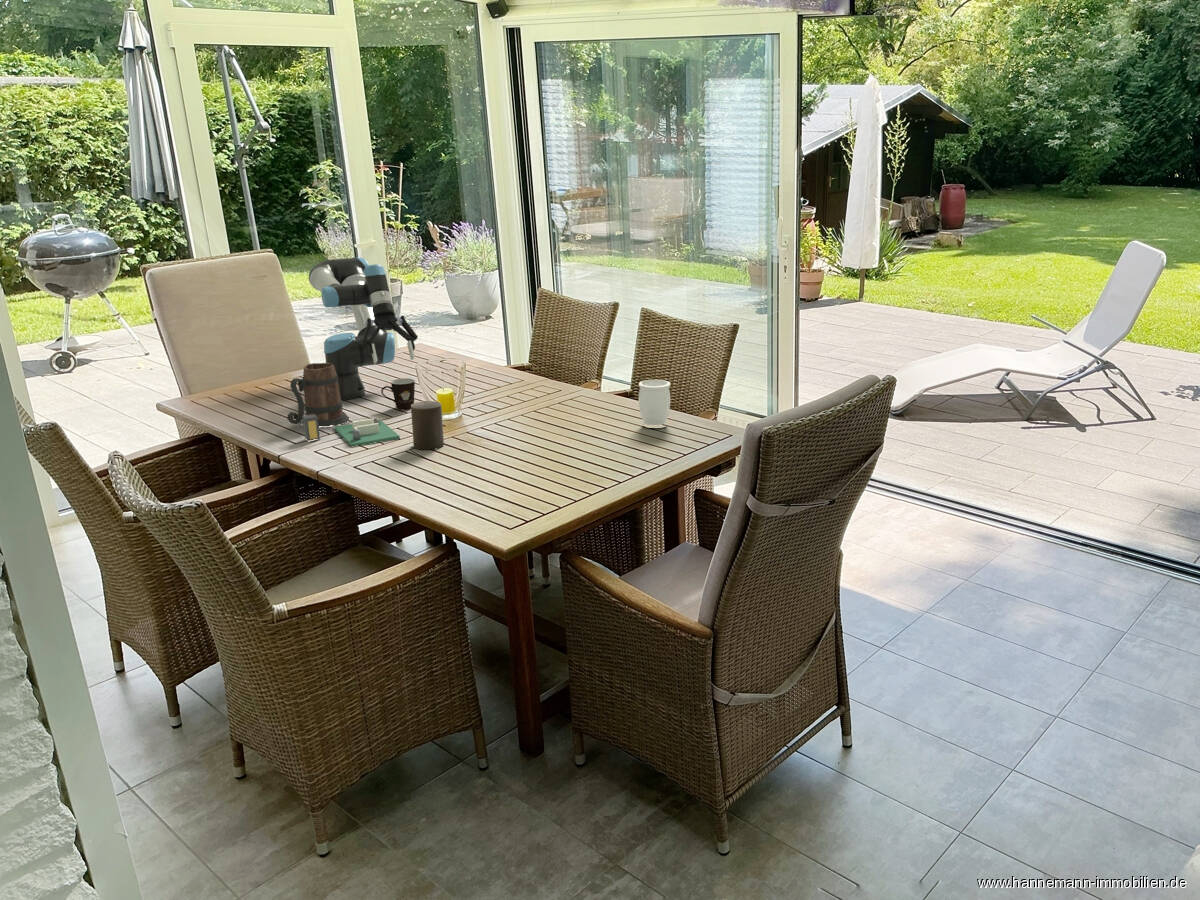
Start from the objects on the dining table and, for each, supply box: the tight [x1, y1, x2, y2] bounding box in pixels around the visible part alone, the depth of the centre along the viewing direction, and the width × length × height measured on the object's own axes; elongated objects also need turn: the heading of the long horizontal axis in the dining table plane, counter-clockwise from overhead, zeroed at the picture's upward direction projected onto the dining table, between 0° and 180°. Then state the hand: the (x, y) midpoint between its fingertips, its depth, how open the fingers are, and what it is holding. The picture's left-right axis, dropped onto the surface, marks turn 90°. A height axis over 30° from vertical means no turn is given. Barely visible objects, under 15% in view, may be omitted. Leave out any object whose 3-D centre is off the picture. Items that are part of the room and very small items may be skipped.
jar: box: [638, 379, 671, 425], centre depth 324 cm, size 11×10×15 cm
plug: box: [302, 414, 321, 440], centre depth 319 cm, size 4×4×8 cm
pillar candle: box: [410, 400, 445, 451], centre depth 310 cm, size 10×10×15 cm
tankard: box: [287, 362, 350, 426], centre depth 335 cm, size 24×17×20 cm
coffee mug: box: [381, 377, 416, 411], centre depth 353 cm, size 12×9×10 cm
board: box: [333, 418, 401, 447], centre depth 324 cm, size 22×16×4 cm
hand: (394, 360), depth 347 cm, fingers open, 13 cm apart
